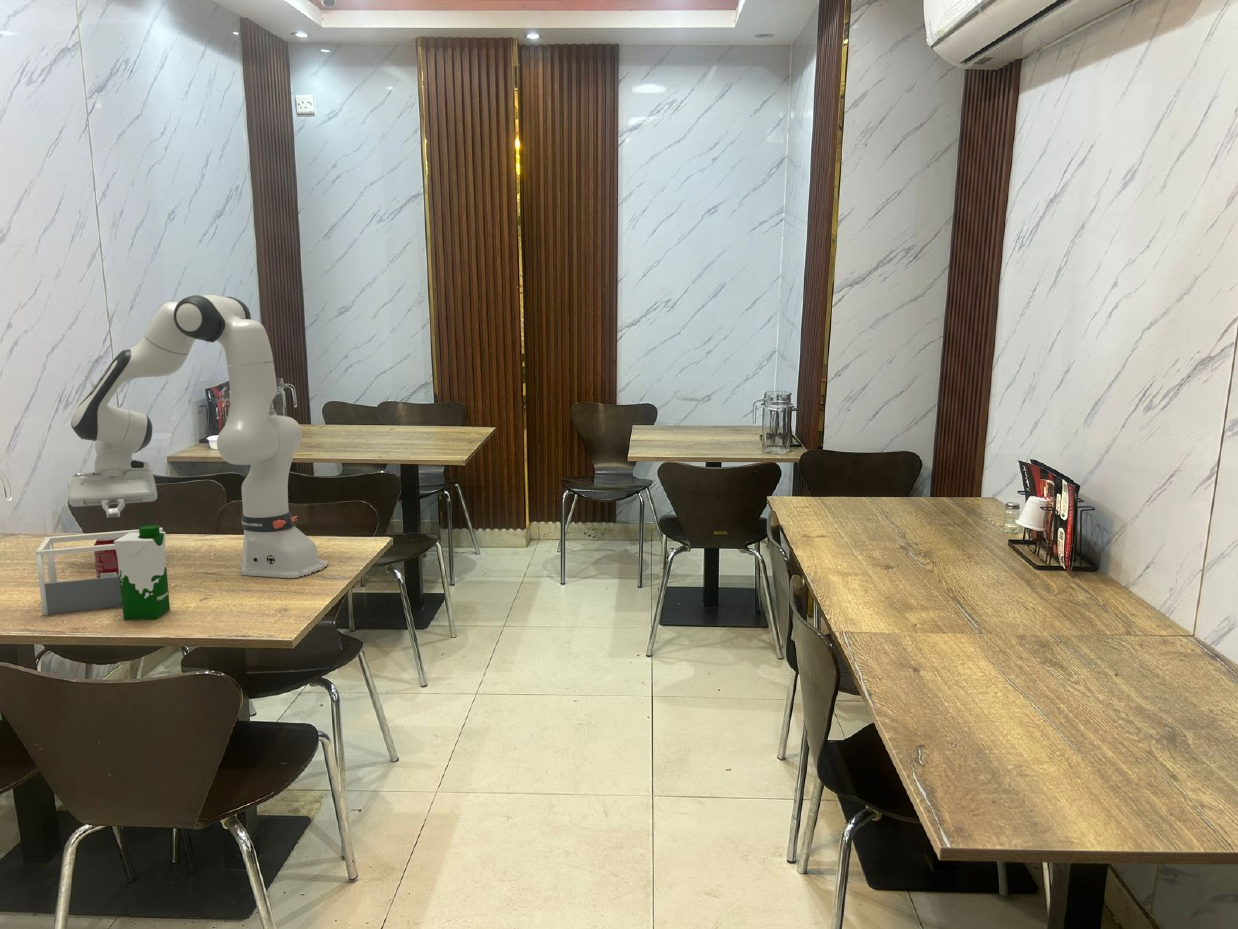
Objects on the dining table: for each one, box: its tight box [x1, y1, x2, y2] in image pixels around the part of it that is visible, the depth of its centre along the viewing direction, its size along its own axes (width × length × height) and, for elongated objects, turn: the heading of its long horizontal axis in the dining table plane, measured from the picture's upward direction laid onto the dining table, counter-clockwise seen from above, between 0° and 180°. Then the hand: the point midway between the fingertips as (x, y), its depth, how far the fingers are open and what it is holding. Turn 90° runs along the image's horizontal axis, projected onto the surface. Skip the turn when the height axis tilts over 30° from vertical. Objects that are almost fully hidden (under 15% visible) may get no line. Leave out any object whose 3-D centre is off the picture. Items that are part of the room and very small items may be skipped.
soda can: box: [93, 537, 121, 578], centre depth 227 cm, size 7×7×12 cm
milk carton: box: [114, 524, 171, 621], centre depth 205 cm, size 9×9×20 cm
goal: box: [35, 527, 164, 616], centre depth 215 cm, size 13×25×15 cm, turn 113°
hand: (113, 516), depth 236 cm, fingers closed
